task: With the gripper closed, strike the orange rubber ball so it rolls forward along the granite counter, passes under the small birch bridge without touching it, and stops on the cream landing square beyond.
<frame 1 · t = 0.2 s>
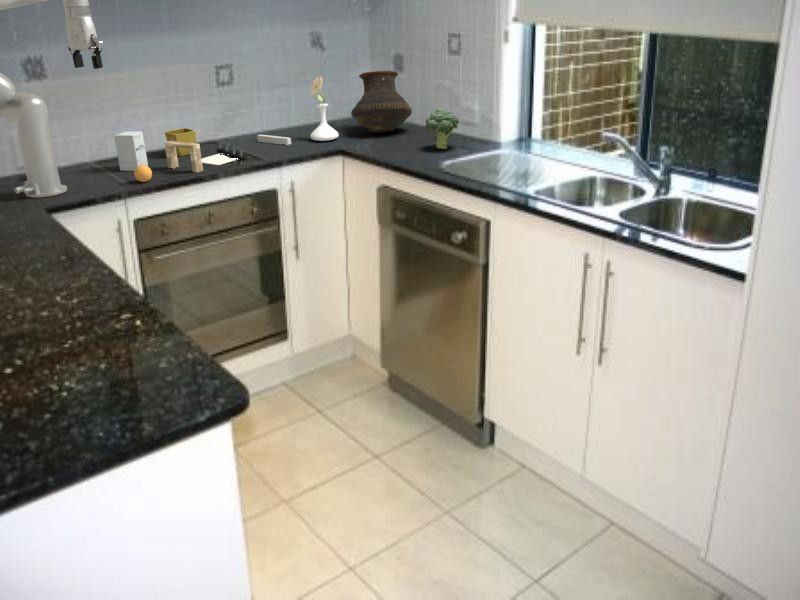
hand: (88, 67, 257), 36 cm above the counter, tool pointing down, fingers open, 9 cm apart
ceramic pot: (382, 133, 318), on the counter
flower pot: (183, 155, 297), on the counter
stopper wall: (274, 142, 310), on the counter
ball: (143, 173, 261), on the counter
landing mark: (218, 159, 287), on the counter
supplement box: (134, 169, 280), on the counter
vegetable: (442, 149, 288), on the counter
bridge: (185, 169, 275), on the counter
flower in vase: (324, 140, 310), on the counter
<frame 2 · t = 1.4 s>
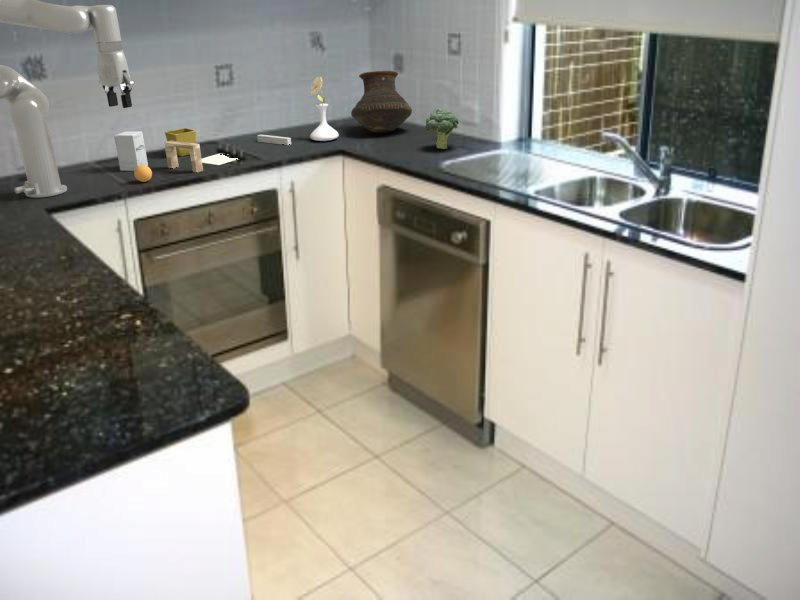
hand: (120, 106, 248), 26 cm above the counter, tool pointing down, fingers open, 6 cm apart
nothing on the counter moved.
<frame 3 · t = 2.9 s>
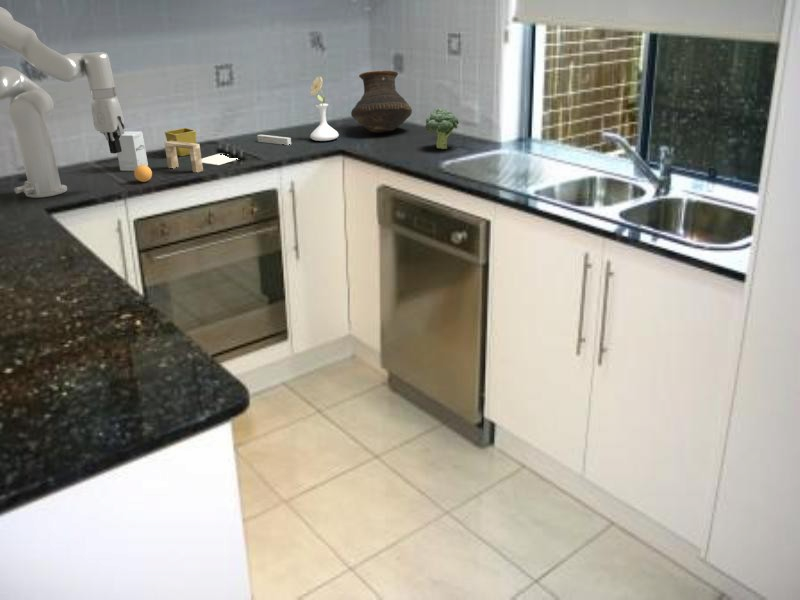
hand: (116, 152, 250), 12 cm above the counter, tool pointing down, fingers closed
nothing on the counter moved.
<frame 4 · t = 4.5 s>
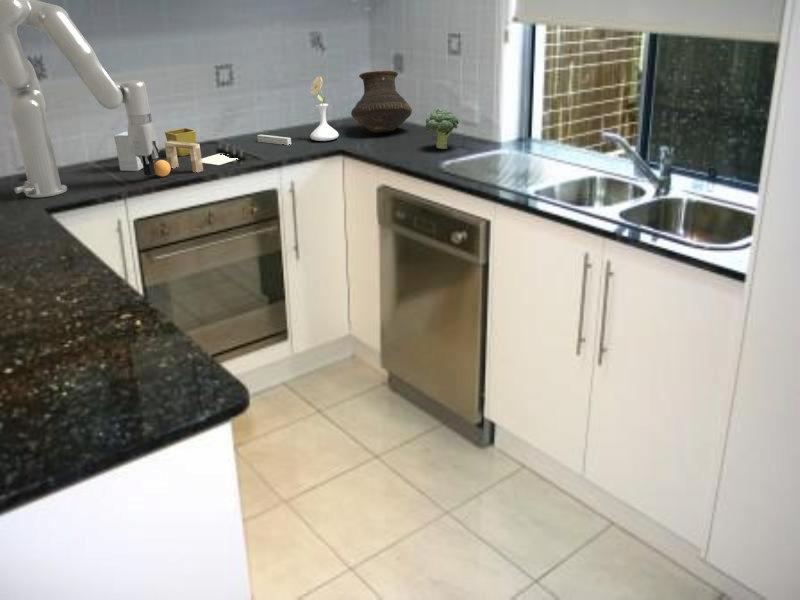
hand: (150, 174, 263), 2 cm above the counter, tool pointing down, fingers closed
ball: (162, 168, 266), on the counter
everything else where it was.
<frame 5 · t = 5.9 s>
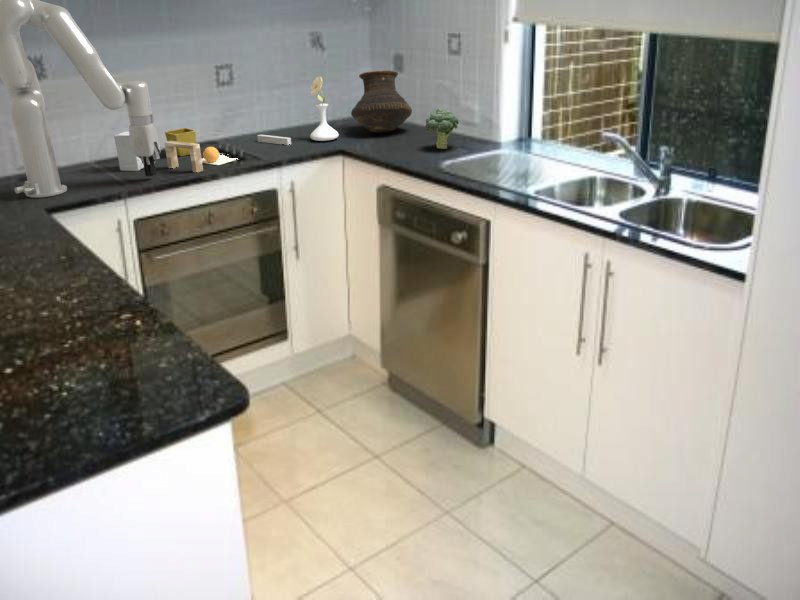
hand: (150, 175, 263), 2 cm above the counter, tool pointing down, fingers closed
ball: (211, 154, 282), on the counter
everything else where it was.
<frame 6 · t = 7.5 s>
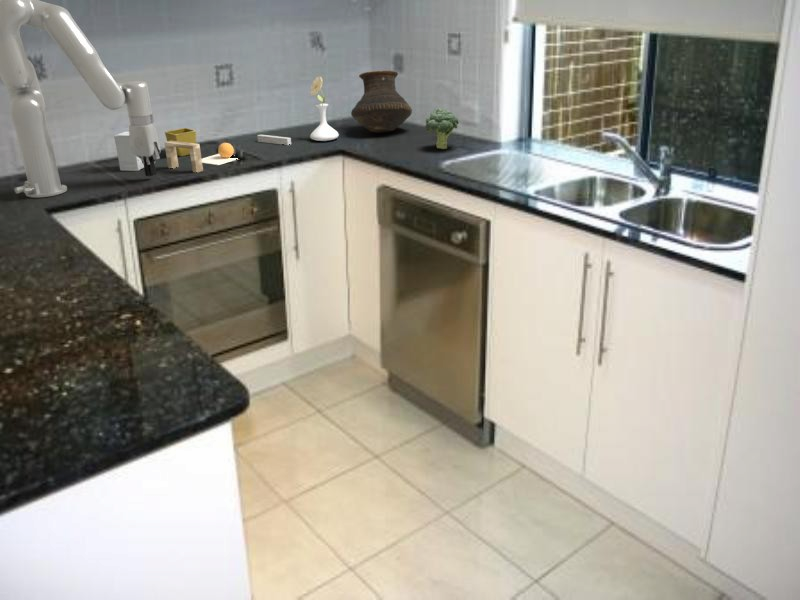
hand: (150, 175, 263), 2 cm above the counter, tool pointing down, fingers closed
ball: (226, 150, 288), on the counter
everything else where it was.
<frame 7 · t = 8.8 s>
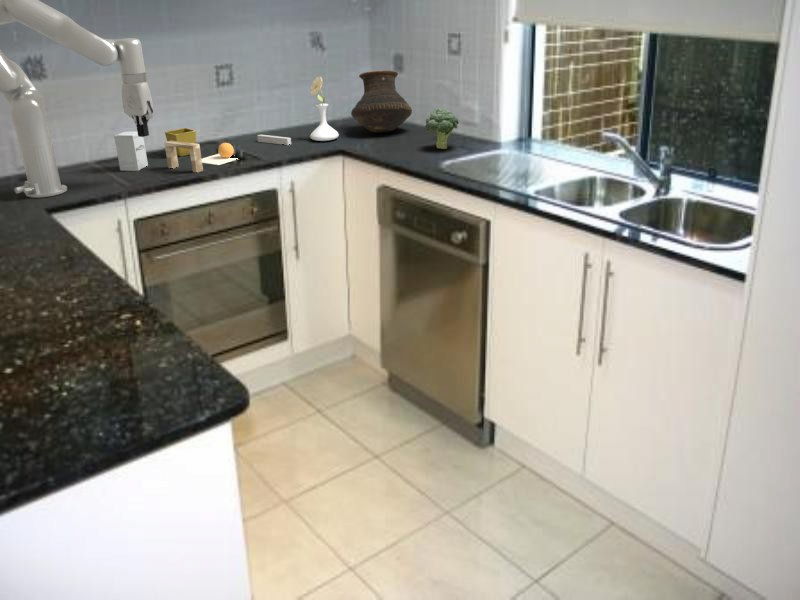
hand: (143, 135, 258), 15 cm above the counter, tool pointing down, fingers closed
nothing on the counter moved.
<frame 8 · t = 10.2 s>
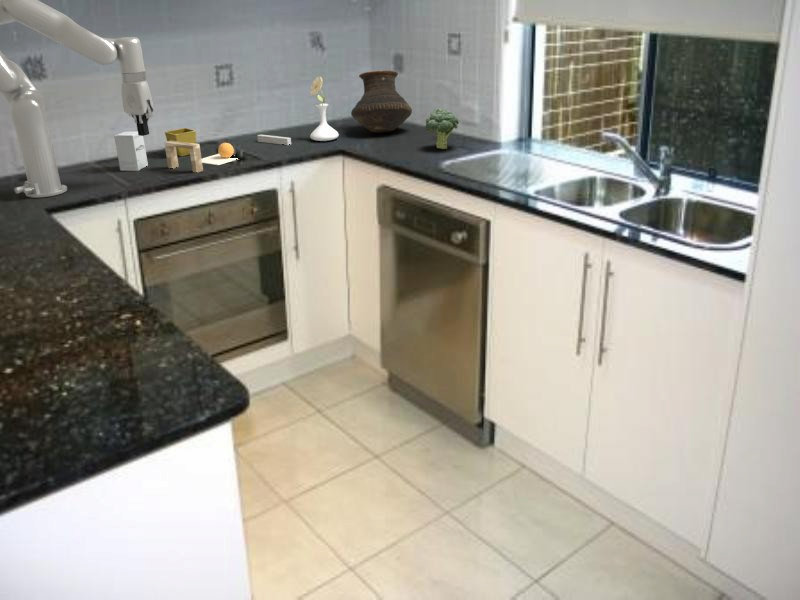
hand: (143, 134, 258), 15 cm above the counter, tool pointing down, fingers closed
nothing on the counter moved.
at the end: ball 3.2 cm from the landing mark (horizontally); ball never touched bridge; ball at rest at the end (0.0 cm/s) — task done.
